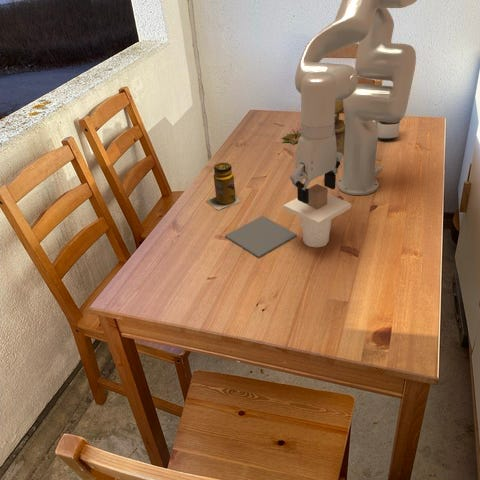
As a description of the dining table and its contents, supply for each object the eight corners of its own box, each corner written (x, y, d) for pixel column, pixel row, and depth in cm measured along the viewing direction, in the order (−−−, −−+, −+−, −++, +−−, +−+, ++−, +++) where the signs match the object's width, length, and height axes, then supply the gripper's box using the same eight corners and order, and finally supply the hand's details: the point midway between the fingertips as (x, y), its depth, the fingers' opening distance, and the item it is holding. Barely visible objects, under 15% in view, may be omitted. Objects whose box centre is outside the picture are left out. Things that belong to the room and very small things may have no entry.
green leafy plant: (277, 145, 180) (276, 134, 178) (284, 133, 189) (284, 122, 187) (308, 147, 177) (308, 135, 174) (314, 134, 186) (314, 123, 183)
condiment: (241, 201, 146) (238, 166, 140) (218, 210, 143) (213, 175, 136) (228, 192, 152) (225, 158, 145) (206, 201, 148) (201, 166, 141)
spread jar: (400, 142, 173) (403, 111, 166) (368, 144, 174) (371, 113, 167) (391, 129, 183) (395, 100, 176) (362, 132, 183) (364, 102, 177)
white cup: (333, 234, 128) (334, 202, 122) (327, 251, 122) (329, 218, 116) (304, 230, 130) (304, 199, 125) (298, 247, 124) (297, 214, 119)
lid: (315, 192, 127) (315, 173, 124) (350, 207, 119) (352, 187, 116) (283, 209, 121) (283, 189, 118) (318, 226, 113) (318, 206, 110)
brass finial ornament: (347, 141, 177) (349, 93, 167) (347, 156, 166) (350, 106, 156) (323, 141, 179) (324, 93, 169) (321, 156, 168) (322, 106, 158)
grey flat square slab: (262, 217, 138) (262, 215, 137) (297, 236, 128) (297, 234, 128) (225, 237, 131) (224, 235, 130) (258, 258, 121) (258, 256, 121)
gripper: (330, 115, 115) (328, 177, 125) (279, 136, 107) (281, 202, 116) (355, 122, 110) (351, 187, 120) (303, 145, 102) (303, 213, 111)
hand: (316, 194), depth 118 cm, fingers open, 9 cm apart
